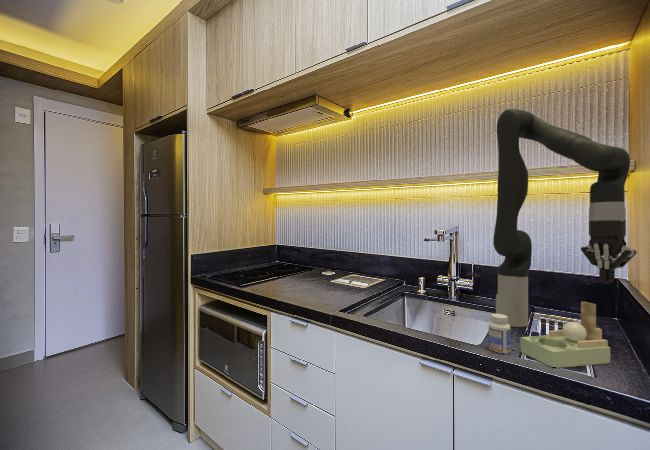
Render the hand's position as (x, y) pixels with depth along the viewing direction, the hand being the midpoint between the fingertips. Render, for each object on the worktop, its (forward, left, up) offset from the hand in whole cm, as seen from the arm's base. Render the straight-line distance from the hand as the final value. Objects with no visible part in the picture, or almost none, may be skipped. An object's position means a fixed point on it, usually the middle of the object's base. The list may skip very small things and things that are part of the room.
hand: (606, 282), depth 84 cm
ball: (0, -11, -13) cm, 17 cm away
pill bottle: (-7, -28, -20) cm, 34 cm away
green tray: (0, -14, -19) cm, 24 cm away
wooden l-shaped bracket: (0, -6, -15) cm, 16 cm away
